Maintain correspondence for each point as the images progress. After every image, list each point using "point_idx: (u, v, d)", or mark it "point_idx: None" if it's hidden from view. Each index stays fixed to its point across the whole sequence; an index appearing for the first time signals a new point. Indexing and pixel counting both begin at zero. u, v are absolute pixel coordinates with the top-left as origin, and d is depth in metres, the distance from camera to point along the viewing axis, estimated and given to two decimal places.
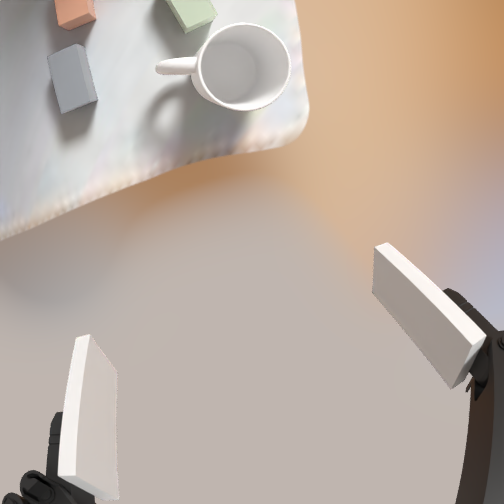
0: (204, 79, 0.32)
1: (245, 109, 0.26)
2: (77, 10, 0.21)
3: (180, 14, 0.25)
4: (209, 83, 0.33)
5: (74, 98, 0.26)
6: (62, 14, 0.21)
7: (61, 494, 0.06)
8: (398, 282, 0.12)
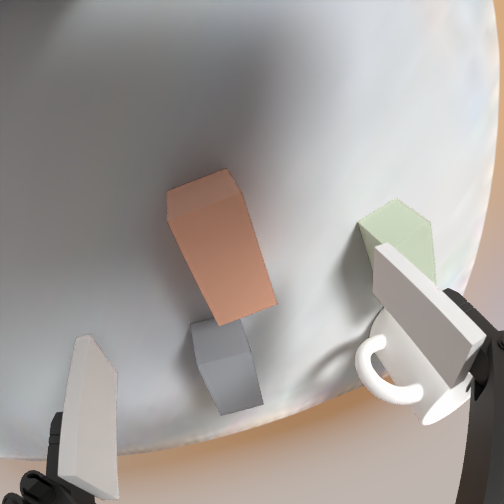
0: None
1: (441, 418, 0.22)
2: (254, 301, 0.17)
3: None
4: None
5: (242, 403, 0.22)
6: (223, 308, 0.17)
7: (61, 494, 0.06)
8: (398, 282, 0.12)
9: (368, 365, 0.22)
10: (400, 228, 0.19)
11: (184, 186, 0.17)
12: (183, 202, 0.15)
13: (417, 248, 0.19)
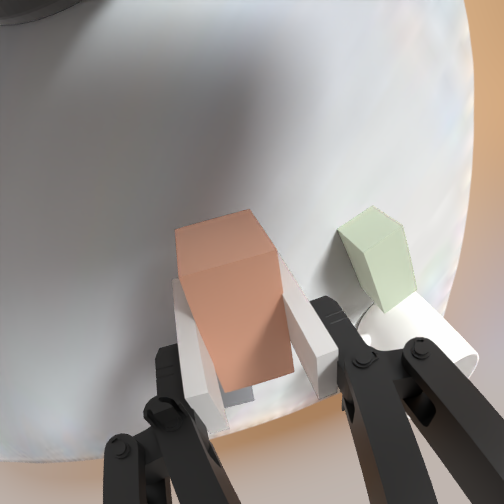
0: None
1: None
2: (269, 369, 0.14)
3: (381, 299, 0.23)
4: None
5: (234, 398, 0.24)
6: (233, 376, 0.14)
7: (189, 426, 0.08)
8: None
9: None
10: (374, 233, 0.21)
11: (197, 227, 0.14)
12: (199, 251, 0.12)
13: (391, 250, 0.21)
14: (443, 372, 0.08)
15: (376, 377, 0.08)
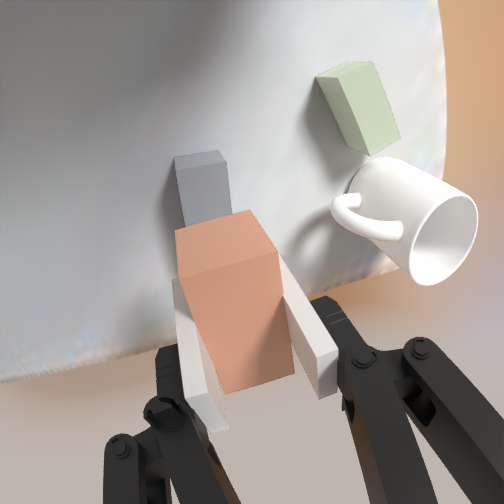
0: None
1: (433, 283, 0.24)
2: (269, 370, 0.14)
3: (364, 136, 0.23)
4: None
5: None
6: (233, 377, 0.14)
7: (189, 426, 0.08)
8: None
9: (342, 205, 0.24)
10: (347, 69, 0.20)
11: (197, 228, 0.14)
12: (199, 252, 0.12)
13: (366, 83, 0.20)
14: (443, 372, 0.08)
15: (376, 377, 0.08)
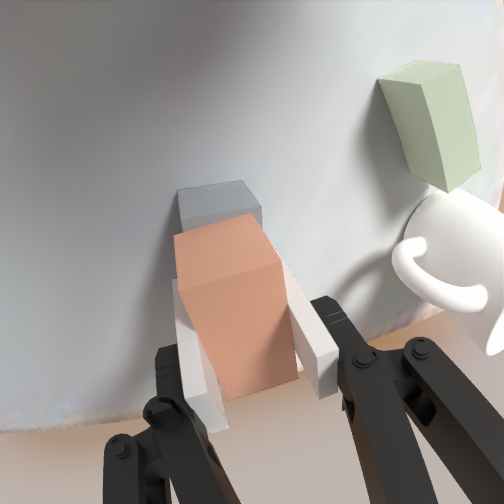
0: None
1: (500, 350, 0.16)
2: (273, 376, 0.14)
3: (444, 168, 0.15)
4: None
5: None
6: (236, 384, 0.13)
7: (188, 426, 0.08)
8: None
9: (412, 261, 0.17)
10: (427, 72, 0.13)
11: (197, 233, 0.13)
12: (199, 261, 0.11)
13: (452, 94, 0.13)
14: (443, 372, 0.08)
15: (376, 377, 0.08)
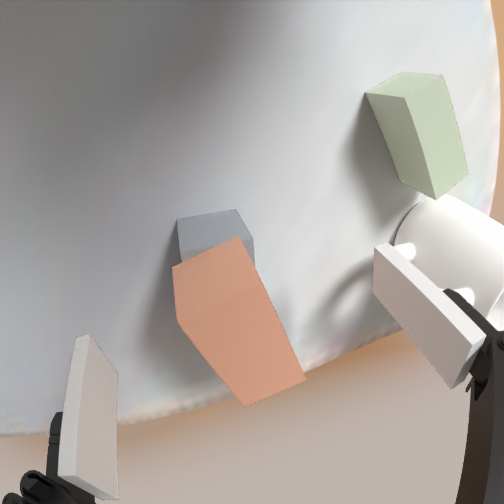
0: None
1: None
2: (281, 381, 0.15)
3: (431, 176, 0.16)
4: None
5: None
6: (248, 392, 0.15)
7: (61, 494, 0.06)
8: (398, 282, 0.12)
9: None
10: (412, 84, 0.14)
11: (192, 262, 0.15)
12: (193, 291, 0.13)
13: (436, 105, 0.14)
14: None
15: None
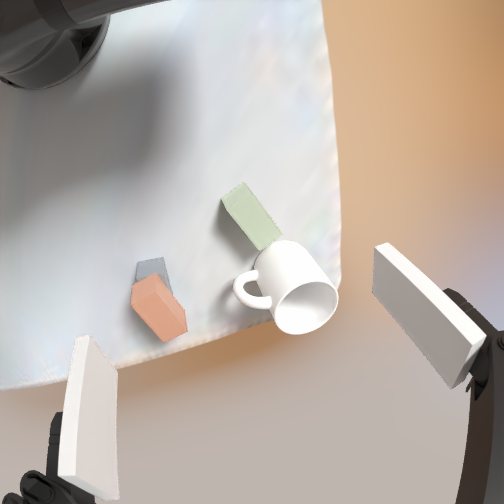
0: None
1: None
2: (175, 331, 0.37)
3: (252, 240, 0.38)
4: None
5: None
6: (163, 335, 0.37)
7: (61, 494, 0.06)
8: (398, 283, 0.12)
9: (238, 284, 0.40)
10: (236, 198, 0.36)
11: (139, 283, 0.37)
12: (137, 294, 0.35)
13: (248, 207, 0.36)
14: None
15: None
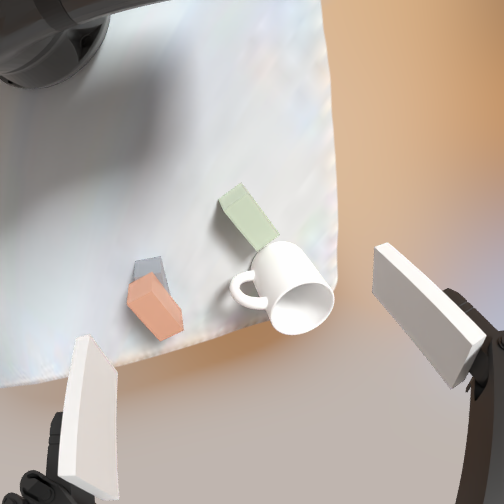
0: None
1: (299, 333, 0.39)
2: (172, 329, 0.37)
3: (249, 241, 0.39)
4: None
5: None
6: (159, 333, 0.37)
7: (61, 494, 0.06)
8: (398, 282, 0.12)
9: (235, 284, 0.40)
10: (233, 199, 0.36)
11: (135, 282, 0.37)
12: (133, 293, 0.35)
13: (245, 208, 0.36)
14: None
15: None
